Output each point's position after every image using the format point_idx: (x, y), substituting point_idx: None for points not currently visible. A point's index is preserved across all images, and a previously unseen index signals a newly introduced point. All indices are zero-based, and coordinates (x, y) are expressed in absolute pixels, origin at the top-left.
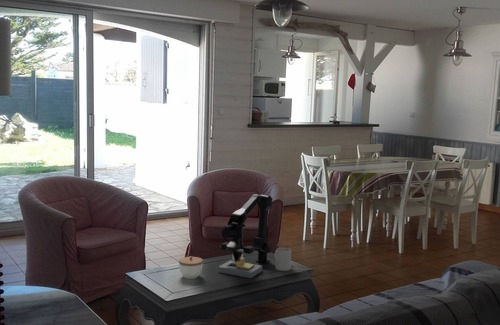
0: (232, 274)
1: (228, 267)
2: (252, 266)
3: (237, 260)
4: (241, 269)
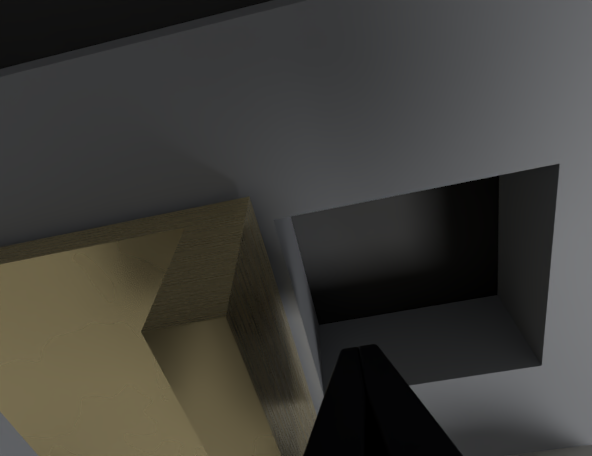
0: (245, 7)
1: (437, 74)
2: (20, 414)
3: (238, 374)
4: (66, 186)
